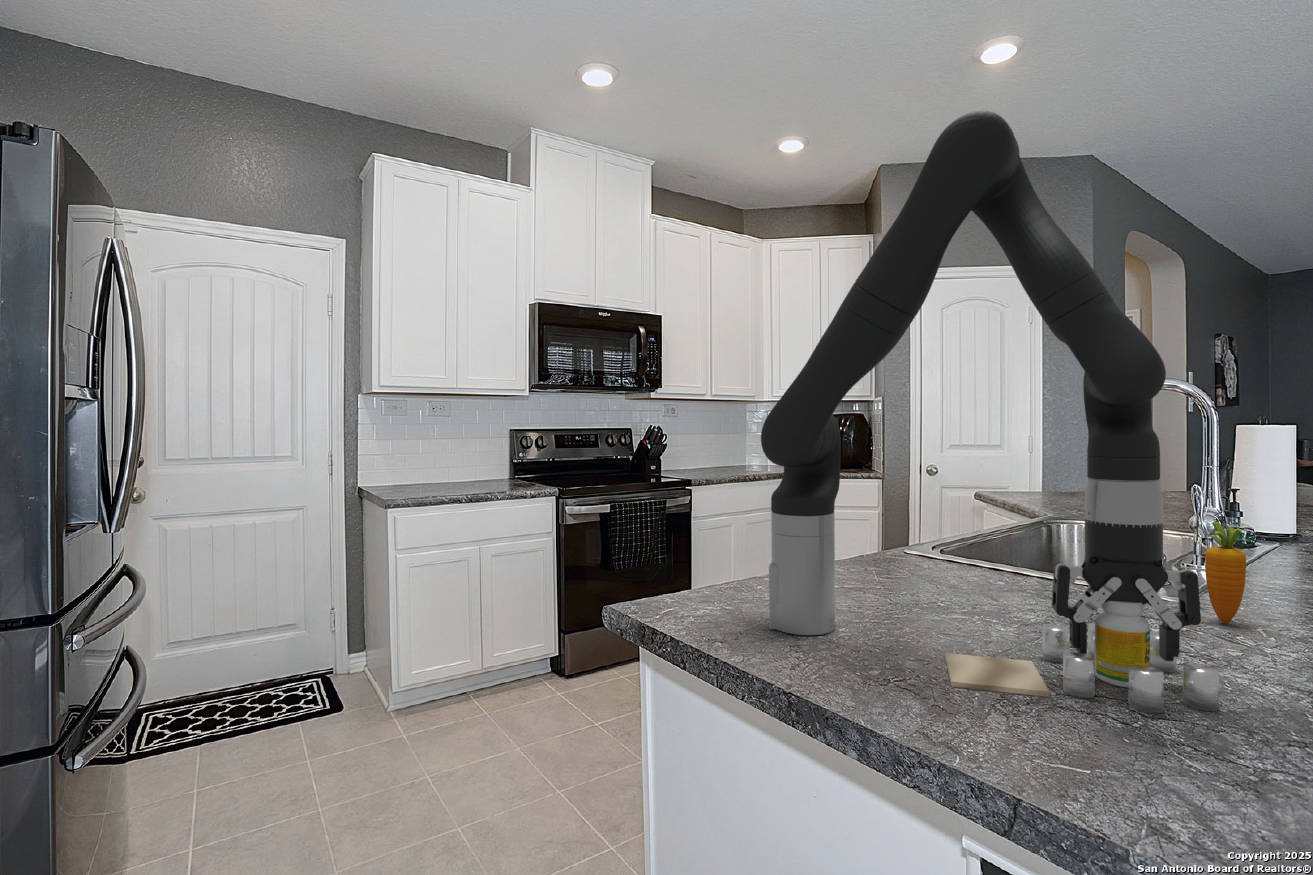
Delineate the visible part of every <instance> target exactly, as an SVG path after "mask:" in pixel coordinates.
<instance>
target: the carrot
mask: <svg viewBox="0 0 1313 875" xmlns="http://www.w3.org/2000/svg"><path fill="white" fill-rule="evenodd" d="M1212 526H1213V527H1214V530H1215V531H1214V534H1211V535H1210V537H1211V538H1212V539H1213V541H1215V542H1216V543H1217V544H1218V545H1219V546H1212V547H1209V548H1207V550H1206V552H1205V555H1204V559H1205V563H1204V564H1205V581H1206V588H1207V593H1208V597H1209V600H1210V604H1211V607H1212V608H1213V611H1214V614H1216V617H1217V618H1218V619H1219V621H1220V622H1221V624H1223V625H1225V626H1226V625H1228V624H1229V623H1231V622H1232V620H1233V619H1234V617H1235V616H1236V615H1237V613H1238V610H1239V608H1240V606H1241V603H1242V600H1243V595H1244V592H1245V586H1246V574H1247V554H1246V553H1245V551H1244V550H1242V549H1240V548H1236V547H1234V544H1235V543H1236V541H1237V539H1238V537H1239V535H1241V533H1242V532H1243V530H1242V529H1240V528H1239V527H1238V528H1236V529H1235V528H1234V527H1232V526H1227V527H1226V529H1227V532H1226V531H1225V529H1224V527H1223V526H1222V524H1221V523H1220V522H1219V521H1214V522H1213V523H1212ZM1227 535H1228V536H1227Z"/></svg>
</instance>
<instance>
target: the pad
mask: <svg viewBox="0 0 1313 875" xmlns="http://www.w3.org/2000/svg"><path fill="white" fill-rule="evenodd" d="M944 659H945V664H946V669H947V674H948V678H949V681H950V686H951V687H953V688H961V689H970V690H980V691H990V692H999V693H1005V694H1006V693H1009V694H1019V695H1026V696H1028V695H1029V696H1037V697H1046V698H1050V697H1051V696H1050V694H1051V692H1050V689H1048V688H1049V687H1047V685H1046V683H1045V681H1044V680H1043V678H1042V676H1041V674H1040V673H1039V671H1038V669H1037V667H1036V665H1035V664H1034V662H1033V660H1023V659H1012V658H1005V657H1003V658H1002V657H991V656H980V655H972V654H971V655H969V654H959V653H947V652H945V653H944Z"/></svg>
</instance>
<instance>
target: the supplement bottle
mask: <svg viewBox="0 0 1313 875" xmlns="http://www.w3.org/2000/svg"><path fill="white" fill-rule="evenodd" d="M1100 607H1101V608H1102V610H1103V611H1102V612H1100V613H1098V614H1097V615H1096V616H1095V618H1094V623H1095V677H1096V678H1097V679H1098V680H1100V681H1103V682H1105V683H1107V684H1110V685H1113V686H1115V687H1122V688H1128V689H1129V666H1131V665H1143V666H1149V667H1150V632H1151V625H1150V623H1149V622H1148V620H1147V619H1145V618H1144V617H1143V616H1141V615H1142V614H1143V612H1144V610H1145V609H1144V605H1143V604H1142V603H1138V602H1120V601H1108V602H1104V603H1103V604H1102V605H1101V606H1100Z"/></svg>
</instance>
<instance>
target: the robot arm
mask: <svg viewBox="0 0 1313 875" xmlns="http://www.w3.org/2000/svg"><path fill="white" fill-rule="evenodd" d="M923 164H924V165H923V167H922V168H921V171H920V172H919V175H918V177H917V179H916V181H915V183H914V185H913V187H912V189H911V191H910V193H909V195H908V197H907V199H906V201H905V203H904V205H903V207H902V208H901V210H900V212H899V214H897V217H896V218H895V220H894V222H893V223H892V224H891V226H890V227H889V229H888V230H887V232H886V234H884V236H883V238H882V240H881V241H880V242H879V244H878V245H877V247H876V248H875V250H874V252H873V254H872V255H871V256H870V258H869V260H868V261H867V263H866V265H865V266H864V268H863V269H862V271H861V272H860V274H859V275H858V276H857V278H856V279H855V281H854V283H853V285H852V286H851V288H850V289H849V291H848V292H847V294H846V295H845V298H844V299H843V301H842V302H841V304H840V306H839V307H838V309H837V310H836V311H837V312H836V313H835V315H834V317H833V319H832V320H831V322H830V323H829V325H828V326H827V328H826V330H825V331H824V333H823V335H822V336H821V338H820V339H819V341H818V343H817V344H816V346H815V348H813V351H812V353H811V355H810V356H809V358H808V360H807V362H806V363H805V364H804V365H803V367H802V368H801V371H799V373H798V374H797V376H796V377H795V378H794V380H793V382H792V383H791V384H790V385H789V387H788V388H787V390H785V392H784V393H783V394H782V396H781V397H780V399H779V400H778V401H777V403H775V405H774V406H773V408H772V409H771V410H770V412H768V414H767V416H766V418H765V419H764V422H763V424H762V428H761V431H760V433H761V434H760V446H761V448H762V451H763V452H762V453H764V455H765V457H766V458H767V459H768V460H769V461H770V462H771V463H772V464H775V465H777V466H780V467H783V475H782V479H781V481H780V483H779V485H778V486H777V488H776V489H775V490H774V491H773V492H772V494H771V499H770V509H771V511H770V517H771V518H770V520H771V562H770V563H769V566H768V599H769V600H768V606H769V608H768V611H769V612H768V613H769V614H768V615H769V616H768V617H769V620H768V621H769V622H768V624H769V628H768V629H770V630H777V631H780V632H783V633H785V634H786V633H787V634H791V635H797V636H798V635H799V636H818V635H826V634H829V633H831V632H833V631H834V630H835V629H836V575H835V574H836V568H835V567H836V566H835V564H836V560H835V559H836V558H835V557H836V556H835V553H836V552H835V551H836V548H835V547H836V546H835V544H836V540H835V532H836V531H835V530H836V529H835V503H836V499H837V496H838V493H839V489H840V479H841V478H840V477H841V454H842V453H841V452H842V451H841V450H842V449H841V448H842V447H841V444H842V443H841V442H842V441H841V440H842V439H841V431H840V425H839V423H838V421H837V419H836V417H835V416H834V412H835V411H836V410H837V408H838V406H839V404H840V403H841V402H842V400H843V399H844V398H845V396H846V395H847V394H848V393H849V391H850V390H851V389H852V388H854V386H855V385H857V383H859V381H861V379H862V378H864V377H865V376H866V375H868V373H870V372H872V370H873V369H874V368H875V367H876V366H877V365H879V364H880V363H881V361H883V360H884V358H886V357H887V356H888V354H890V353H891V351H892V350H893V349H894V348H895V346H897V344H898V343H899V342H900V340H901V338H903V336H904V335H905V333H906V331H907V330H908V328H909V327H910V326H911V324H912V322H913V321H914V319H915V318H916V316H917V315H918V313H919V312H920V310H921V308H922V307H923V304H924V303H925V301H926V299H927V297H928V295H929V292H930V290H931V288H932V286H933V283H934V281H935V278H936V275H937V273H938V271H939V268H940V266H941V263H942V260H943V257H944V255H945V252H946V251H947V248H948V247H949V244H950V242H951V241H952V239H953V237H954V235H955V234H956V233H957V231H958V230H959V228H960V226H961V225H962V224H963V222H964V221H965V219H967V217H968V215H969V214H970V213H971V212H973V214H974V215H975V216H977V218H978V219H979V220H980V221H981V222H982V223H983V224H984V225H985V227H986V228H987V229H988V230H989V232H990V233H991V234H992V236H993V237H994V239H995V240H996V242H997V243H998V244H999V246H1000V247H1001V249H1002V251H1003V252H1004V255H1005V256H1006V257H1007V260H1008V261H1009V262H1008V263H1009V264H1010V266H1011V267H1012V270H1013V271H1014V274H1015V275H1016V276H1017V279H1018V281H1019V282H1020V284H1021V286H1022V288H1023V290H1024V291H1025V294H1026V295H1027V297H1028V298H1029V300H1030V301H1031V303H1032V305H1033V306H1034V307H1035V309H1036V310H1037V312H1038V313H1039V315H1040V316H1041V318H1042V320H1043V321H1044V323H1045V325H1046V326H1047V327H1048V329H1049V330H1050V331H1051V333H1052V334H1053V335H1054V336H1055V337H1056V338H1057V340H1059V341H1060V342H1061V343H1064V344H1065V345H1066V346H1067V348H1069V350H1070V351H1071V353H1072V354H1073V357H1075V359H1076V360H1077V362H1078V364H1080V366H1081V368H1082V370H1083V371H1084V373H1083V384H1082V385H1083V387H1082V388H1083V390H1082V391H1083V403H1084V412H1085V420H1086V427H1087V434H1088V435H1087V436H1088V437H1087V448H1086V449H1087V450H1086V451H1087V452H1086V455H1087V456H1086V457H1087V458H1086V462H1087V463H1086V466H1087V467H1086V468H1087V469H1086V470H1087V471H1086V474H1087V475H1086V476H1087V480H1086V488H1085V491H1084V492H1085V494H1084V506H1083V514H1084V560H1083V562H1082V565H1081V566H1078V565H1067V564H1064V563H1063V562H1061V561H1058V562H1056V563H1055V564H1054V565H1053V566H1054V567H1053V577H1052V578H1053V580H1052V593H1051V595H1052V596H1051V608H1052V610H1053V611H1055V613H1056V614H1057V615H1058V616H1059V617H1064V618H1067V619H1068V621H1069V629H1070V644H1071V646H1072V647H1073V648H1074V649H1075V650H1076V651H1077V653H1080V654H1085V655H1087V654H1088V624H1087V622H1085V620H1086V619H1087V618H1089V616H1090V615H1091V614H1092V613H1093V612H1095V611H1096V610H1098V609H1099V608H1100V607H1101V605H1102V604H1103V603H1104V602H1108V601H1120V602H1138V603H1142V604H1143V606H1144V605H1146V604H1147V605H1148V607H1149V608H1150V609H1151V610H1152V611H1153V612H1154V614H1156V616H1158V617H1159V620H1161V623H1162V624H1159V623H1158V624H1159V625H1158V632H1159V654H1160V657H1161V658H1162V659H1163V660H1165V661H1172V662H1173V659H1174V657H1176V658H1177V657H1178V656H1179V655H1180V650H1181V649H1180V643H1181V642H1180V638H1181V637H1180V631H1181V629H1182V628H1183V627H1187V626H1191V625H1192V626H1198V625H1200V624H1201V623H1202V617H1201V616H1202V615H1201V603H1200V602H1201V600H1200V588H1199V577H1198V574H1196V573H1195V572H1193V571H1192V570H1189V569H1187V568H1185V567H1182V568H1178V569H1177V570H1166V569H1165V567H1164V564H1163V563H1164V498H1163V492H1162V486H1161V480H1160V479H1161V446H1160V441H1159V436H1158V435H1157V433H1156V432H1155V430H1154V429H1153V423H1152V422H1153V417H1152V416H1153V415H1152V414H1153V413H1152V399H1153V398H1155V397H1156V396H1157V395H1158V394H1159V393H1160V392H1161V390H1162V388H1163V387H1164V385H1165V382H1166V378H1167V372H1166V371H1167V370H1166V367H1165V364H1164V361H1163V359H1162V357H1161V355H1160V354H1159V351H1158V350H1157V348H1156V347H1155V346H1154V345H1153V343H1152V342H1151V341H1150V340H1149V338H1148V337H1147V336H1146V335H1145V334H1144V332H1142V331H1141V330H1140V328H1138V326H1137V325H1136V324H1135V323H1134V322H1133V321H1132V320H1131V319H1130V318H1129V317H1128V316H1127V315H1126V314H1125V313H1124V312H1123V311H1122V310H1121V309H1120V307H1119V306H1118V305H1117V303H1116V302H1115V301H1114V298H1113V297H1112V295H1111V294H1110V292H1109V291H1108V289H1107V287H1106V286H1105V284H1104V283H1103V282H1102V280H1101V279H1100V277H1099V275H1098V274H1097V273H1096V271H1095V270H1094V269H1093V267H1092V266H1091V264H1090V263H1089V262H1088V260H1087V259H1086V258H1085V256H1084V255H1083V254H1082V252H1081V251H1080V250H1079V249H1078V248H1077V247H1076V245H1075V244H1074V243H1073V241H1072V240H1071V239H1070V238H1069V237H1068V236H1067V235H1066V233H1065V232H1064V231H1063V230H1062V229H1061V228H1060V226H1059V225H1058V223H1056V221H1055V220H1054V219H1053V218H1052V216H1051V215H1050V213H1049V212H1048V210H1047V209H1046V208H1045V206H1044V205H1043V203H1042V201H1041V199H1040V197H1039V196H1038V194H1037V193H1036V191H1035V189H1034V187H1033V185H1032V183H1031V180H1030V178H1029V175H1028V173H1027V170H1026V168H1025V166H1024V163H1023V161H1022V159H1021V156H1020V148H1019V144H1018V141H1017V139H1016V137H1015V134H1014V132H1013V130H1012V128H1011V127H1010V124H1009V123H1008V122H1007V121H1006V120H1005V119H1004V118H1003V117H1002V116H1001V115H1000V114H997V113H996V112H994V111H990V110H985V109H984V110H973V111H971V112H967V113H965V114H962V115H961V116H960V117H958V118H956V119H954V120H953V121H952V122H951V123H950V124H948V126H946V128H944V129H943V131H941V133H940V134H939V136H938V137H937V139H936V141H935V143H934V144H933V146H932V149H931V150H930V152H929V154H928V156H927V158H926V160H925V162H924V163H923ZM1078 577H1082V579H1083V580H1084V581H1085V582H1086V583H1087V585H1088V586H1087V587H1086V588H1085V589H1084V591H1083V592H1081V594H1079V598H1078V599H1077V600H1076V601H1075V602H1074V603H1073V604H1072V605H1071V606H1070V605H1069V599H1070V598H1069V596H1070V595H1069V594H1070V585H1072V584H1074V583H1076V581H1077V578H1078ZM1168 581H1170V583H1171V585H1172V587H1173V588H1175V589H1177V596H1178V598H1177V599H1178V607H1179V608H1178V610H1179V611H1178V612H1173V611H1172V610H1171V608H1170V607H1169V605H1168V604H1167V603H1166V602H1165V601H1164V600H1163V598H1162V597H1161V596H1160V595H1159V594H1158V592H1160V590H1161V589H1162V588H1163V587H1165V585H1166V584H1167V582H1168ZM1178 658H1179V657H1178Z"/></svg>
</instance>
